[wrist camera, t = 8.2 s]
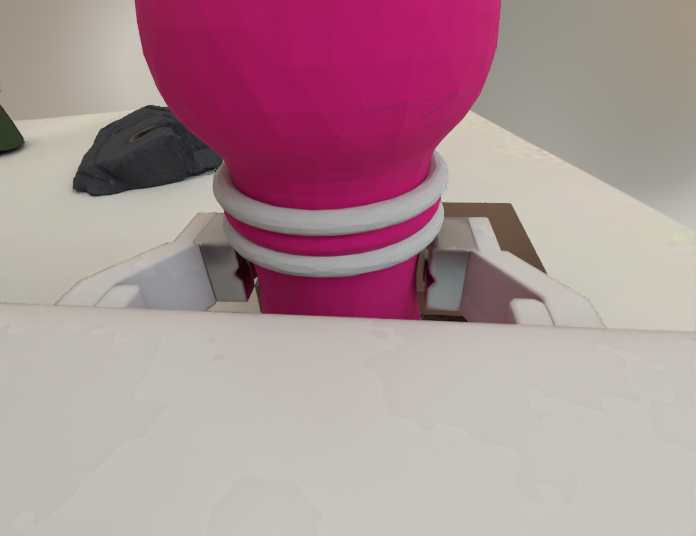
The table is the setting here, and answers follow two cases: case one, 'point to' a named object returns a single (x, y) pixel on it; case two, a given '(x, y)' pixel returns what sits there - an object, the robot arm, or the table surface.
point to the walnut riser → (505, 232)
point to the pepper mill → (325, 133)
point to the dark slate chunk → (143, 153)
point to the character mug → (8, 132)
